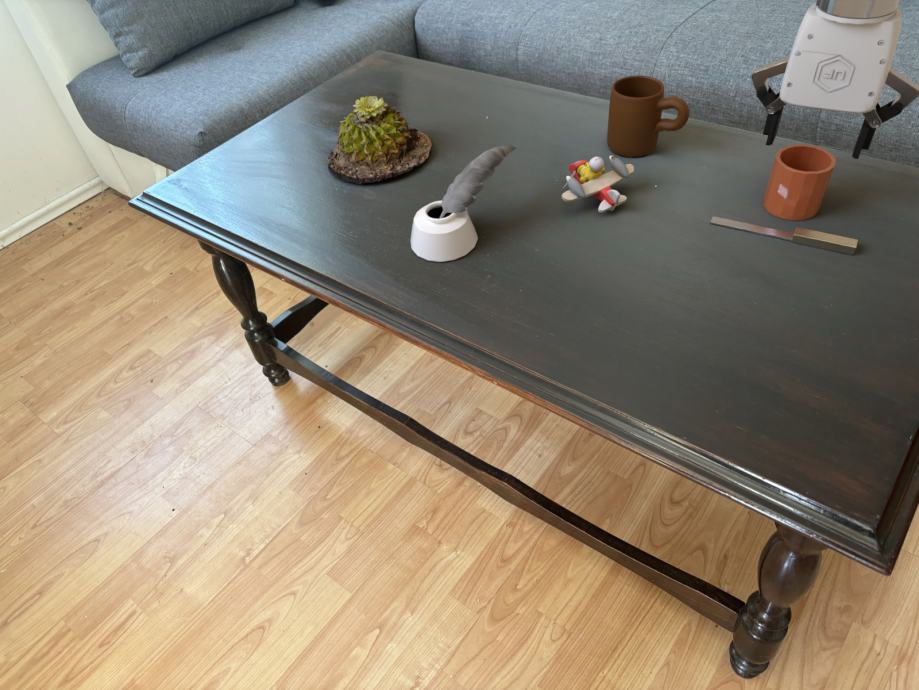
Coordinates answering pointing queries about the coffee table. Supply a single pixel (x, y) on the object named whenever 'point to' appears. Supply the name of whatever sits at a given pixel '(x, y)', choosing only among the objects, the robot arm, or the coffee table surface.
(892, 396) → the coffee table surface
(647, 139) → the mug
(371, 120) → the cactus
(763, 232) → the knife
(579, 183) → the toy airplane
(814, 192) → the pot
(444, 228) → the inkwell
